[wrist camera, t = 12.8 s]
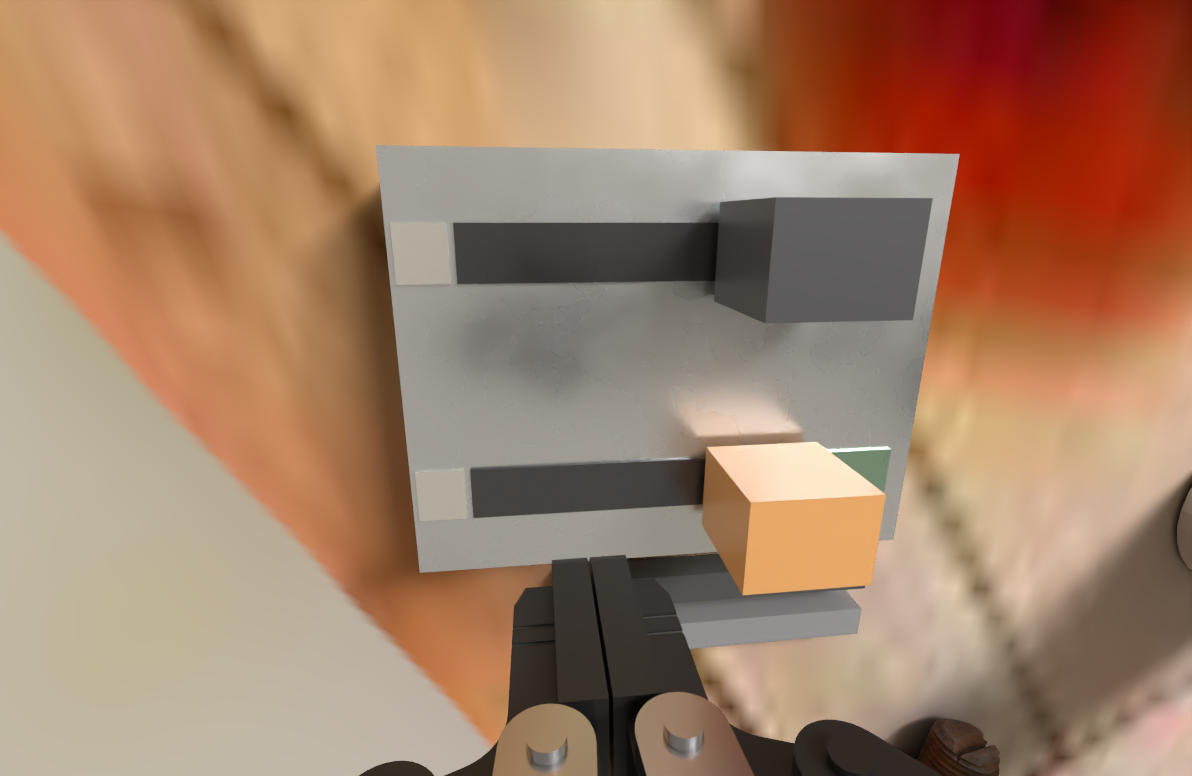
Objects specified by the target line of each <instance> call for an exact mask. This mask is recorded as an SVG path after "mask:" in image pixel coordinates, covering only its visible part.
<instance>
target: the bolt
mask: <svg viewBox="0 0 1192 776" xmlns="http://www.w3.org/2000/svg"><path fill="white" fill-rule="evenodd" d="M986 743H987V742H986V741H985V740H984V739H983V733H982V732H981V731H980V730H979V729H977V728H976V727H974V726H972V725H971V724H968V723H965V722H961V721H957V720H950V719H946V720H937V721H935V722H934V725H932V727H931V729H930V731H929V732H928V736H927V737H926V740H925V741H924V745H923V746H922V749H921V751H920V752H919V755H918V757H917V759H915V760H917V761H919V762H920V763H922V764H924V765H925V766H927V767H929V768H930V769H932V770H934V771H935V772H937V773H939V774H940V775H942V776H998V775H999V767H998V765H999V761H1000V759H999V757H998V755H999V751H998V749H997V748H996V746H995V745H993V746H988V747H985V746H986Z"/></svg>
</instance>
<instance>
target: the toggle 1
mask: <svg viewBox="0 0 1192 776" xmlns="http://www.w3.org/2000/svg"><path fill="white" fill-rule="evenodd" d="M932 200H933V198H819V197H773V198H762V199H750V200H738V201H726V202H720V211H719V227H718V244H717V261H716V277H715V294H714V301H715V302H717V303H719V304H721V305H724V306H726V307H728V308H731V309H733V310H735V311H738V312H740V313H742V314H744V315H747V316H749V317H751V318H754V319H756V320H758V321H761V322H763V323H808V322H854V321H899V320H913V317H914V311H915V305H916V298H917V292H918V286H919V280H920V274H921V268H922V262H923V255H924V249H925V243H926V237H927V231H928V225H929V219H930V212H931V206H932Z"/></svg>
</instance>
